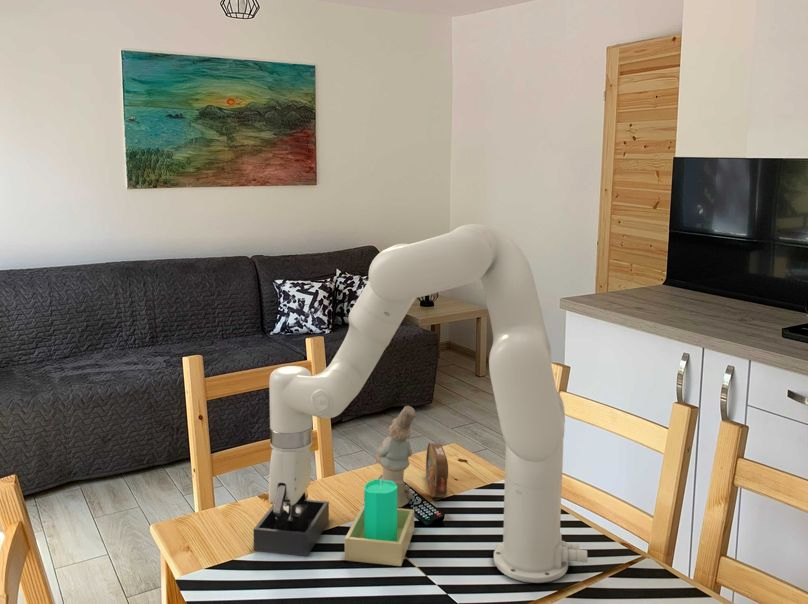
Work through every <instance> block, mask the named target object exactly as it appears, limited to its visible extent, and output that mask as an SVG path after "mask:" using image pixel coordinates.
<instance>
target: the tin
mask: <svg viewBox="0 0 808 604" xmlns="http://www.w3.org/2000/svg"><path fill="white" fill-rule="evenodd" d="M448 462H449V461H448V458H447V455H446V453H445V450H444V448H443V445H442V444H441V443H432V442H429V443H428V444H427V448H426V457H425V477H426V483H427V485H428V489H429V493H430V495H431V498H445V497H446V496H447V492H448V490H447V489H448V479H449V463H448Z"/></svg>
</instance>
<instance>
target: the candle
mask: <svg viewBox="0 0 808 604" xmlns="http://www.w3.org/2000/svg"><path fill="white" fill-rule="evenodd" d="M363 486H364V488H363V489H364V491H363V494H364V495H363V501H364V503H363V505H364V538H365V539H375V540H385V541H395V542H397V485H396V484H395V483H394V482H393V481H386V480H381V478H380V479H378V478H375V479H372V480H370V481H368V482H366V483H365V484H364V485H363Z"/></svg>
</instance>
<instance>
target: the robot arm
mask: <svg viewBox="0 0 808 604" xmlns="http://www.w3.org/2000/svg"><path fill="white" fill-rule="evenodd" d="M367 277H368V281H367V283H366V284H365V286H364V288H363V289H362V291H361V293H360V294H359V296H358V298H357V299H356V301H355V303H354V305H353V306H352V307H351V309H350V311H349V314H348V318H347V320H348V330H347V333H346V335H345V337H344V340H343V342H342V343H341V345H340V347H339V349H338V350H337V352H336V353H335V355H334V357H333V358H332V359H331V362H330V363H329V365H328V366H327V367H326V368H325V369H323V370H322V371H321V372H319V373H317V374H314V375H312V373H311V371H310V370H309V369H308V368H306V367H304V366H299V365H287V366H280V367H278V368H275V369H274V370H273V371H272V372H271V373H270V375H269V382H268V383H269V384H268V386H269V387H268V389H269V439H270V441H269V445H270V448H271V454H270V461H269V474H268V475H269V476H268V502H269V504H271V505H273V504H274V503H275V504H274V508H273V512H274V514H275V516H276V528H277V530H286V531H295V519H292V518H293V510H294V504H301V505H308V501H305V500H309V493H308V488H309V486H310V485H311V482H312V481H311V479H312V459H311V447H312V445H313V443H314V442H313V441H314V440H313V438H314V437H313V435H314V434H313V433H314V432H313V417H316V418H320V419H333V418H335V417H338V416H339V415H341V414H342V413H343V412H344V411H345V409H347V407H348V406H349V405H350V404H351V403H352V401H353V400H354V399H355V398H356V397H357V396H358V395H359V394H360V392H361V391H362V389H363V388H364V386H365V384H366V382H367V380H368V379H369V377H370V376H371V374H372V372H373V371H374V369H375V368H376V366H377V364H378V362H379V361H380V359H381V357H382V355H383V354H384V351H385V350H386V349H387V347H389V345H390V343H391V341H392V339H393V337H394V336H395V334H396V332H397V330H398V329H399V327H400V326H401V324H402V322H403V320H404V319H405V318H406V315H407V314H408V312H409V311H410V308H411V307H412V305H413V304H414V302H415V301H416V299H417V298H422V297H425V296H430V295H432V294H436V293H441V292H444V291H447V290H453V289H455V288H460V287H464V286H466V285H470V284H472V283H475V282H476V281H478V280H480V281H481V284H482V286H483V292H484V297H485V303H486V308H487V311H488V316H489V320H490V325H491V326H490V327H491V331H492V346H491V348H490V351H489V356H488V370H489V377H490V383H491V387H492V391H493V396H494V401H495V407H496V411H497V415H498V420H499V425H500V426H499V427H500V431H501V434H502V437H503V440H504V442H505V458H504V459H505V460H504V491H503V492H504V493H503V494H504V495H503V501H504V502H503V527H502V529H503V533H502V534H503V535H502V542H501V543H500V544H498V545H497V546H496V547H495V549H494V551H493V563H494V565H495V567H496V568H497V570H498V571H500V572H501V573H502V574H504V575H505V576H507V577H508V578H511V579H514V580H516V581H520V582H524V583H528V584H529V583H530V584H532V583H533V584H545V583H549V582H553V581H557V580H559V579H561V578H562V577H563V576H564V575H565V574H566V573H567V571H568V569H569V561H573V562H577V563H588V550H587V549H580V543H576V542H566V541H565V540H563V539H562V532H561V517H562V490H563V489H562V487H563V466H564V465H563V464H564V437H565V422H566V411H565V409H566V408H565V404H564V400H563V399H562V396H561V394H560V393H559V392H558V390H557V386H556V381H555V376H554V371H553V365H552V347H551V342H550V340H549V337H548V334H547V330H546V326H545V322H544V316H543V313H542V312H543V311H542V307H541V303H540V299H539V295H538V292H537V291H538V290H537V287H536V283H535V278H534V274H533V272H532V268H531V265H530V263H529V260H528V258H527V256H526V255H525V253H524V251H523V250H522V248H521V246H520V245H519V244H518V243H516V241H515V240H514V239H513V238H511V237H510V236H509V235H508V234H506V233H505V232H503V231H502V230H499V229H496V228H494V227H492V226H487V225H484V224H479V223H469V224H463V225H461V226H458V227H457V228H455V229H453V230H452V231H450V232H447V233H443V234H441V235H437V236H433V237H430V238H427V239H423V240H420V241H416V242H413V243H410V244H409V243H397V244H394V245H392V246H390V247H388V248H386V249H383V250H382V251H381V252H379V253H377V255H376V256H375V257H374V258H373V259H372V261H371V263H370V265H369V269H368V275H367ZM285 499H288V500H290V502H284V501H285ZM283 506H289V511H288V512H287V511H286V510H284V508H283Z"/></svg>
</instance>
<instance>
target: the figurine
mask: <svg viewBox="0 0 808 604" xmlns="http://www.w3.org/2000/svg"><path fill="white" fill-rule="evenodd" d="M415 417H416V410H415V408H413V407H412V406H410V405H405V406H404V407H403V409H402V410H401V411H400V413H399V414H398V416H397V417H395V418H394V419H392V424H390V425H389V427H388V429H389V430H388V431H389V435H388V436H387V437H385V438H384V439H383V440H382V442H381V443H380V444H379V447H378V449H377V451H376V453H377V454H376V456H375V463H377V464H379V465H380V466H381V467H382V474H380V475H379V476H378V478H377V479H380V478H381V480H386V481H393V482H394V483H395V484H396V485H397V508H402V507H404V506H405V505H407V504H408V503H409V501H410V500H411V499H413V498H414V493H413V492H412V491H411V490H410V489H411V488H410V486H409V485H406V483H405V482H404V474H405V470H406V469H407V468H409V466H410V460H409V457H412V454H413V451H412V447H411V443H410V440H409V438H410V437H411V425H412V423H413V421H414V419H415ZM412 496H413V497H412ZM407 497H408V498H407Z"/></svg>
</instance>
